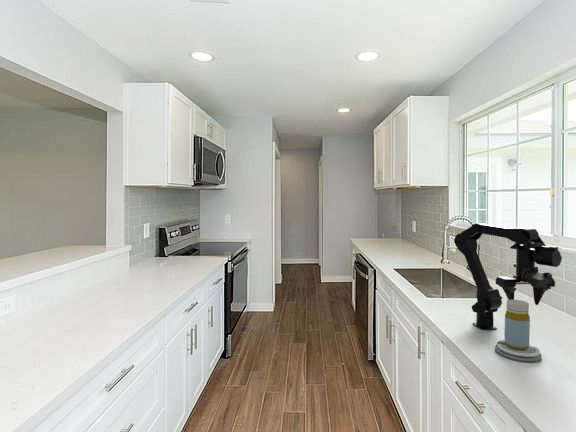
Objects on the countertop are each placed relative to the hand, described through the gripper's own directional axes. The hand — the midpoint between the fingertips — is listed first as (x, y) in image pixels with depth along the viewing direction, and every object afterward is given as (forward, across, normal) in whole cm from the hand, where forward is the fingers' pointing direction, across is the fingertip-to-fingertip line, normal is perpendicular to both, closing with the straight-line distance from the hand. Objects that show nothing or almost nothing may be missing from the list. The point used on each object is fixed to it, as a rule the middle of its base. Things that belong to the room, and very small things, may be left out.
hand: (524, 305), depth 131 cm
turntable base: (+13, -10, -11) cm, 20 cm away
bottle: (+11, -10, -11) cm, 18 cm away
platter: (+12, -10, -11) cm, 19 cm away
